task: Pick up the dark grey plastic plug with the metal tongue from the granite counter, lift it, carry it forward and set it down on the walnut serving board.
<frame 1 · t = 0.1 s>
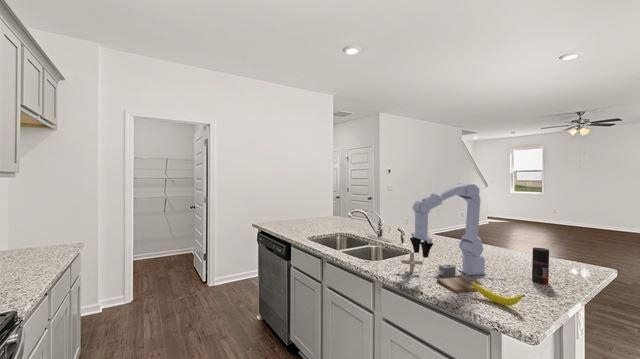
hand: (420, 254, 135), 10 cm above the worktop, tool pointing down, fingers open, 7 cm apart
deodorant: (540, 282, 129), on the worktop
board: (457, 285, 123), on the worktop
plug: (446, 275, 136), on the worktop
pipe connector: (411, 272, 140), on the worktop
banana: (495, 303, 107), on the worktop
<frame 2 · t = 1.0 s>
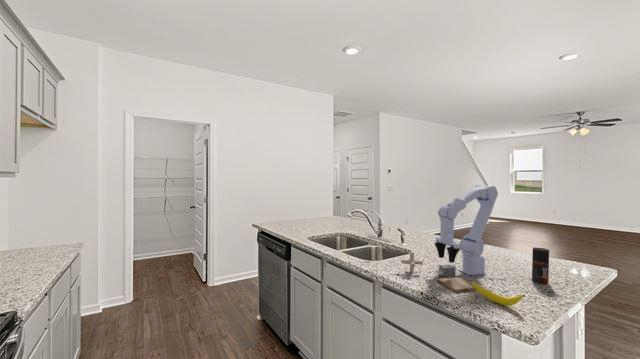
hand: (446, 259, 136), 8 cm above the worktop, tool pointing down, fingers open, 7 cm apart
nothing on the worktop moved.
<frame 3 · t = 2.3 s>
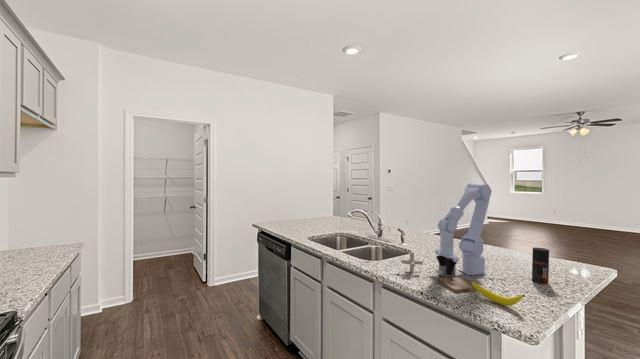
hand: (446, 272, 136), 1 cm above the worktop, tool pointing down, fingers closed on plug, 4 cm apart
plug: (446, 275, 136), on the worktop, touching gripper
everything else where it was.
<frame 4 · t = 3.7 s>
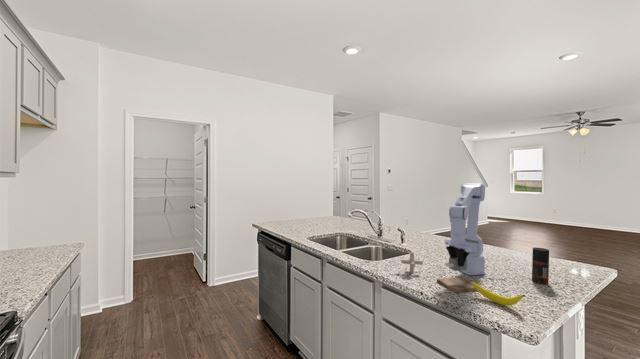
hand: (457, 264, 124), 9 cm above the worktop, tool pointing down, fingers closed on plug, 4 cm apart
plug: (456, 269, 124), point 7 cm above the worktop, touching gripper
everything else where it was.
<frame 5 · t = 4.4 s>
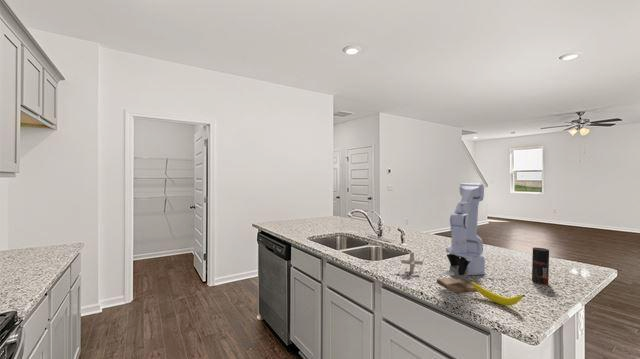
hand: (458, 273, 123), 6 cm above the worktop, tool pointing down, fingers closed on plug, 4 cm apart
plug: (457, 277, 123), point 4 cm above the worktop, touching gripper
everything else where it was.
when the fingers open (4 cm above the worktop, at t = 5.1 s): plug stays where it is, resting on board.
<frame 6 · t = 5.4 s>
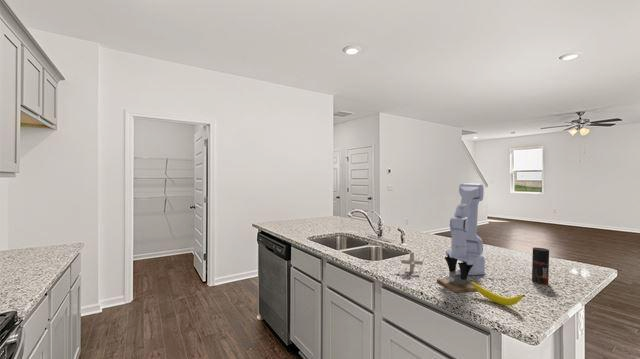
hand: (458, 276, 123), 4 cm above the worktop, tool pointing down, fingers open, 7 cm apart
plug: (457, 283, 123), point 1 cm above the worktop, touching board
everything else where it was.
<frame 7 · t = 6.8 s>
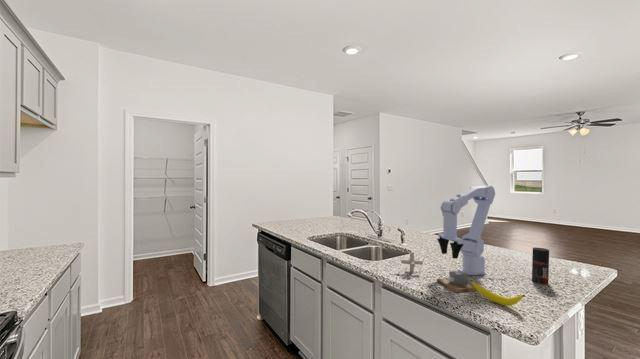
hand: (449, 255, 133), 10 cm above the worktop, tool pointing down, fingers open, 7 cm apart
nothing on the worktop moved.
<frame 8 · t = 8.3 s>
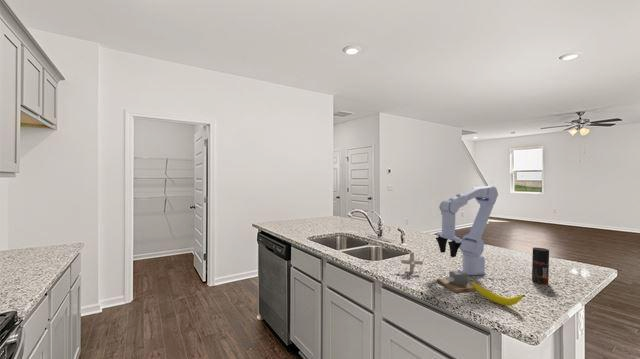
hand: (447, 254, 135), 10 cm above the worktop, tool pointing down, fingers open, 7 cm apart
nothing on the worktop moved.
at the end: plug inside the target area on the board (0.2 cm from its centre), point 1.2 cm above the board's base; plug touching board; the gripper is holding nothing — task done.
